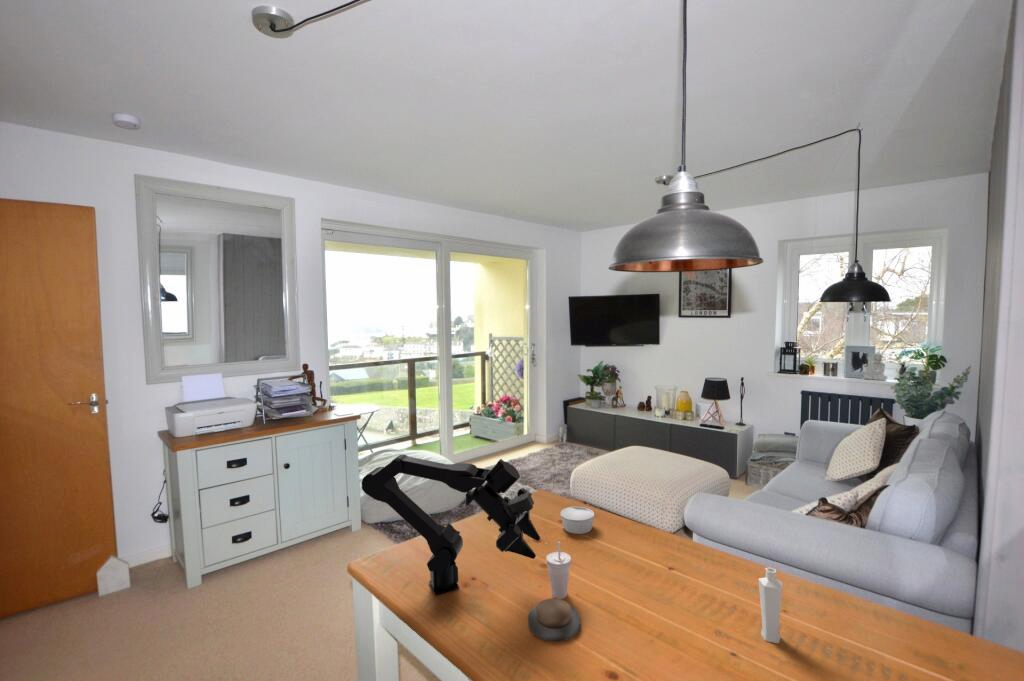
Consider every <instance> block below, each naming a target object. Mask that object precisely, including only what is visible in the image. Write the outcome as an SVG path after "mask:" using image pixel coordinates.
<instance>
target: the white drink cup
mask: <svg viewBox="0 0 1024 681" xmlns="http://www.w3.org/2000/svg"><path fill="white" fill-rule="evenodd" d="M545 562H546V565H547V569H548V575H549V582H550V589H551V595H552V597H553V598H554V599H556V598H557V599H560V600H563V599H565V598H567V596H568V585H569V576H570V575H569V574H570V567H571V566H570V565H571V564H572V558H571V555H570V554H568V553H566V552H563V551H561V541H558V542H557V551H553V552H550V553H549V554H547V555H546V556H545Z"/></svg>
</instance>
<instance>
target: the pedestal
mask: <svg viewBox="0 0 1024 681" xmlns="http://www.w3.org/2000/svg"><path fill="white" fill-rule="evenodd" d="M527 626H528V629H529V631H530V632H531V634H533V635H534V636H535V637H537V638H538V639H540V640H543V641H547V642H554V643H555V642H563V641H568V640H569V639H572V638H574V637H575V636H576V635H577V634H578V633H579V631H580V629H581V615H580V613H579V612H578V611H577V609H576V608H574V607H573V606H572V605H570V604H569V603H568V602H567V601H565V600H563V599H556V598H554V597H553V598H546V599H543V600H541V601H540V602H539V603H537V604H536V605H535V606H533V607H532V608H531V609H530V611H529V612H528V615H527Z"/></svg>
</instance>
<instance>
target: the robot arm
mask: <svg viewBox="0 0 1024 681" xmlns="http://www.w3.org/2000/svg"><path fill="white" fill-rule="evenodd" d="M398 474H403V475H409V476H412V477H413V476H414V477H418V478H422V479H427V480H431V481H436V482H439V483H443V484H445V485H447V487H449V488H450V489H452V490H455V491H457V492H460V493H464V494H465V505H466V506H469V505H470V504H471V503H472V502H474V503H475V504H477V506H478V507H479V508H481V510H482V511H483V512H484V513H485V514H486V515H487V517H486V519H487V520H488V521H489V522H491V520H492V521H493V522H494V523H495V524H496V525H497V526H498V527H499V528H498V531H499V532H500V533H499V534H498V537H497V539H496V541H495V547H496V548H497V549H498V550H499V551H500V552H501V553H504V552H505V553H507V552H509V553H514V554H517V555H521V556H524V557H525V558H529V559H533V560H534V559H536V556H537V554H536V553H535V552H534V550H533V549H532V547H531V546H530V545H529V544H528V542H527V541H526V540H525V539H524V535H526V536H527V537H529V538H531V539H533V540H535V542H536V541H537V542H538V541H540V540H541V536H540V535H539V533H538V531H537V529H536V528H535V526H534V524H533V522H532V520H531V518H530V517H531V516H530V515H531V514H530V513H531V510H533V508H534V504H535V501H534V500H533V498H532V496H533V495H532V493H531V492H530V491H529V490H527V489H526V488H524V487H522V488H519V489H518V490H517V492H516V493H517V494H516V495H517V496H514V497H513V498H509V496H504V497H503V496H502V495H501V494H506V492H507V491H508V490H509V489H510V488H511V487H512V486H514V485H515V483H516V482H517V481H518V480H519V479H520V478H521V474H520V473H519V471H518V470H517V468H516V467H515V466H514V465H513V464H511V463H509V462H508V461H504V460H503V458H499V460H498V461H497V462H496V463H495V465H494V466H493V467H492V468H491V469H488V468H482V467H477V466H476V465H475V464H473V463H469V462H468V463H463V462H462V463H461V462H460V463H459V462H458V463H451V464H450V463H449V464H448V463H441V462H436V461H432V460H427V459H423V458H418V457H413V456H408V455H406V454H399V455H397V456H396V457H394V458H393V459H392V460H391V461H390V462H389V463H388V464H386V465H385V466H378V467H375V468H374V469H373V470H372V471H370V472H369V473H368V474H365V476H364V477H363V478H362V480H361V490H362V491H363V493H365V494H366V495H367V496H368V497H370V498H371V499H373V500H375V501H377V502H381V503H384V504H387V505H388V507H390V508H391V509H392V510H393V511H394V512H395V513H397V515H399V516H400V517H401V518H402V519H403V520H404V521H405V522H406V523H407V524H408V525H410V526H411V528H413V529H414V530H415V531H416V532H417V533H418V534H419V535H421V537H423V538H424V540H425V541H426V543H427V545H428V548H429V550H430V553H431V554H432V555H431V557H430V558H429V560H428V561H427V563H426V565H427V568H428V570H429V573H430V576H429V577H430V580H429V581H428V584H429V586H430V588H431V590H432V592H433V593H434V595H435V596H437V595H440V594H444V593H448V592H451V591H454V590H458V589H460V586H459V584H458V583H459V568H458V566H457V562H456V559H457V557H458V556H459V554H460V552H461V550H462V548H463V545H464V542H463V537H462V536H461V535H460V533H461V532H460V531H458V530H457V529H455V527H454V526H453V525H452V524H451V523H449V522H448V523H447V524H446V526H444V525H441V524H439V523H437V521H435V520H434V519H433V518H432V517H431V516H430V515H429V514H428V513H426V512H425V510H423V508H422V507H420V506H419V505H418V504H417V503H416V502H415V501H413V499H412V498H410V497H409V496H408V495H407V494H406V493H405V492H404V491H403V490H402V489H401V488H400V486H399V483H398V481H397V479H396V476H397V475H398Z"/></svg>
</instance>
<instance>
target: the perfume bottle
mask: <svg viewBox="0 0 1024 681" xmlns="http://www.w3.org/2000/svg"><path fill="white" fill-rule="evenodd" d="M764 570H765V577H760V578H758V589H759V600H760V611H761V612H760V613H761V623H762V624H761V625H762V628H761V630H760V635H761V637H762V638H763V639H764V641H766V642H768V643H775V644H780V641H781V634H780V619H781V608H782V607H781V606H782V595H783V594H782V593H783V582H782V581H781V580H779V579H777V575H776V573H777V569H775V568H772V567H765V568H764Z"/></svg>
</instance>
